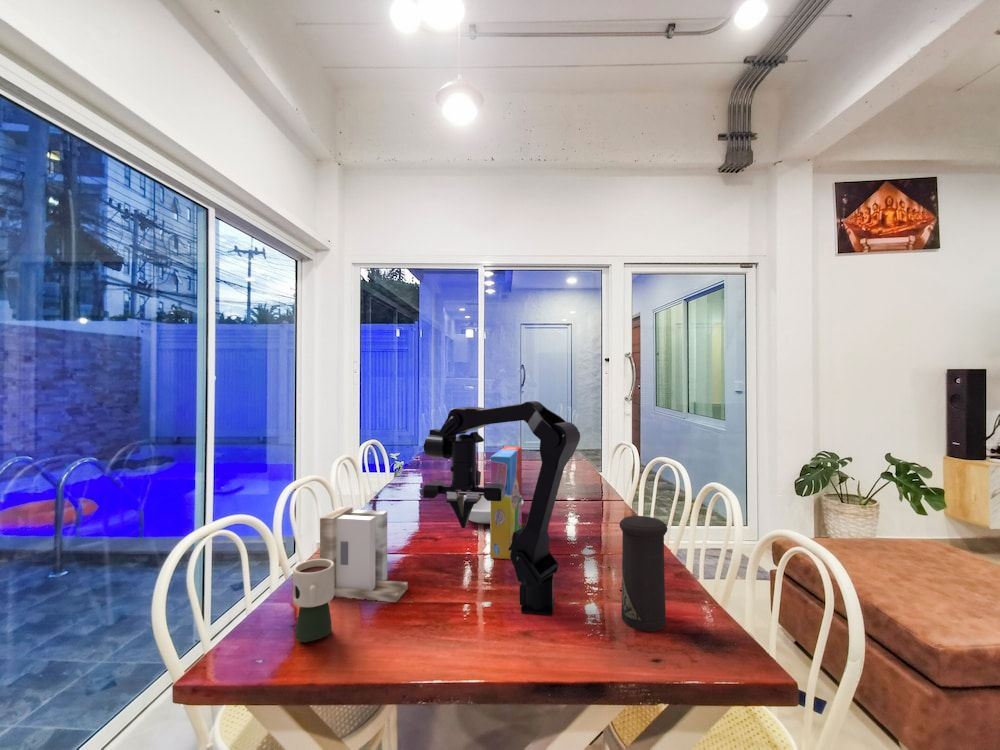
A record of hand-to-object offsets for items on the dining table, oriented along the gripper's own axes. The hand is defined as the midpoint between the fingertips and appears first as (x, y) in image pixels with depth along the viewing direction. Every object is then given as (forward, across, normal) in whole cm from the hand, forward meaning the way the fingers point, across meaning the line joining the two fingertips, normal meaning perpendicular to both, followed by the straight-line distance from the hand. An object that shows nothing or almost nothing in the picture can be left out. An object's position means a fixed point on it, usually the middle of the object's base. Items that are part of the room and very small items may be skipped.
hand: (463, 527), depth 107 cm
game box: (+13, -6, -26) cm, 30 cm away
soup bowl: (+13, +4, -48) cm, 50 cm away
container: (+13, -39, +10) cm, 42 cm away
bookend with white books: (+13, +21, +6) cm, 25 cm away
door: (+13, +23, +8) cm, 28 cm away
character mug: (+13, +22, +26) cm, 36 cm away
